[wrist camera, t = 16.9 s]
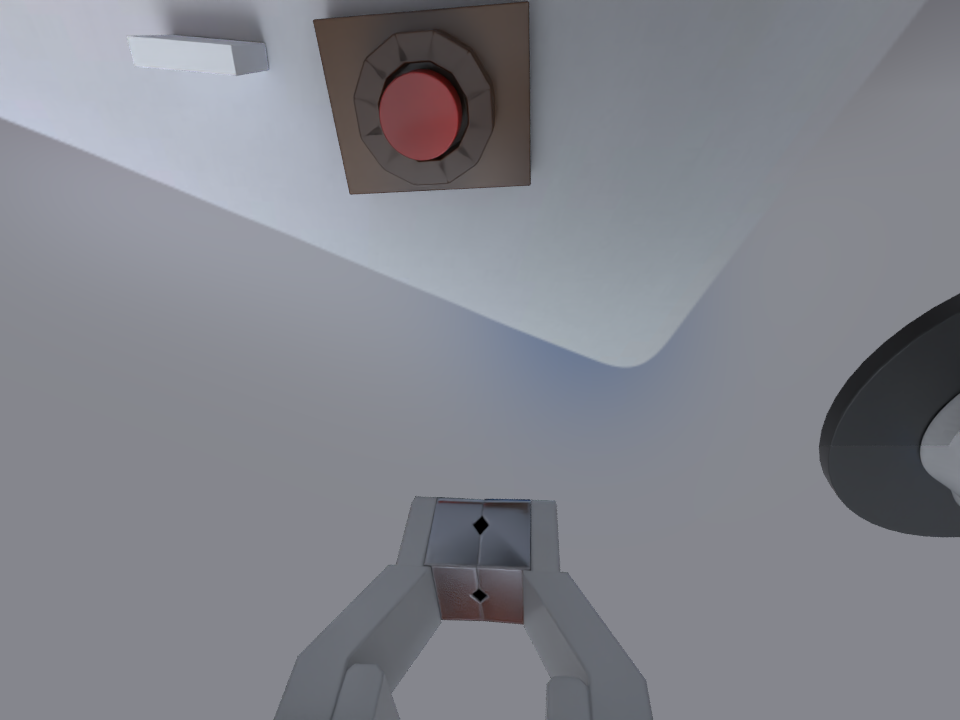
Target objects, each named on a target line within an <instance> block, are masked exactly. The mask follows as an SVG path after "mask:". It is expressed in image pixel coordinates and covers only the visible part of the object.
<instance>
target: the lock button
mask: <svg viewBox="0 0 960 720" xmlns="http://www.w3.org/2000/svg"><path fill="white" fill-rule="evenodd" d="M379 118H380V124H381V128H382V131H383V133H384V135H385V137H386V139H387V140H388V142H389V143H390V144H391V146H392V147H393V148H394V149H395V150H396V151H398V152H399V153H400V154H402V155H404V156H405V157H408V158H410V159H414V160H430V159H434V158H436V157H438V156H440V155H442V154H443V153H444V152H446V151H447V150H448V148H449V147H450V146H451V145H452V143H453V142H454V140H455V138H456V136H457V134H458V132H459V130H460V127H461V123H462V105H461V101H460V98H459V95H458V93H457V91H456V89H455V88H454V86H453V85H452V84H451V82H450V81H449V80H448V79H446V78H445V77H444V76H443V75H441V74H439V73H437V72H435V71H432V70H428V69H416V70H412V71H409V72H407V73H404V74H402V75H400V76H398V77H397V78H395V79H394V80H393V81H392V82H391V83H390V84H389V85H388V86H387V87H386V89H385V91H384V93H383V95H382V98H381V101H380V107H379Z"/></svg>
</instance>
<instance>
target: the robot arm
mask: <svg viewBox="0 0 960 720" xmlns="http://www.w3.org/2000/svg"><path fill="white" fill-rule="evenodd" d="M920 458H921V462H922V465H923V467H924V468H925V470H926V471H927V472H928V473H929V474H930V475H931V476H932V477H933V478H935V479H936V480H937V481H939V482H940V483H942V484H943V485H945V486H946V487H947V488H949V489H950V490H951V492H952V495H953V498H954V500H955V502H956V503H957V504H958V505H959V506H960V394H958V395H957V396H956V397H955V398H954V399H952V400H951V401H950V402H949V403H948V404H947V405H946V406H945V407H944V408H943V409H942V410H941V411H940V412H939V413H938V414H937V415H936V417H935V418H934V419H933V420H932V422H931V423H930V425H929V426H928V428H927V430H926V432H925V434H924V436H923V439H922V442H921V446H920ZM441 620H465V621H482V620H483V621H489V622H501V623H514V624H524V628H525V630H526V631H527V633H528V635H529V637H530V639H531V641H532V643H533V645H534V647H535V649H536V651H537V652H538V655H539V656H540V658H541V660H542V662H543V664H544V666H545V668H546V670H547V672H548V674H549V676H550V678H551V680H550V681H549V682H548V683H547V690H546V691H547V693H546V719H545V720H653V716H652V711H651V706H650V700H649V694H648V688H647V683H646V680H645V678H644V677H643V675H642V674H641V673H640V671H639V670H638V669H637V667H636V666H635V664H634V663H633V662H632V660H631V659H630V658H629V656H628V655H627V653H626V652H625V651H624V649H623V648H622V646H621V645H620V644H619V642H618V641H617V640H616V638H615V637H614V636H613V634H612V633H611V631H610V630H609V629H608V627H607V626H606V624H605V623H604V622H603V620H602V619H601V618H600V616H599V615H598V613H597V612H596V611H595V609H594V608H593V607H592V605H591V604H590V602H589V601H588V600H587V598H586V597H585V596H584V594H583V593H582V592H581V590H580V589H579V588H578V586H577V585H576V583H575V582H574V580H573V579H572V578H571V576H570V575H569V574H568V573H567V572H560V558H559V540H558V523H557V505H556V502H555V501H549V500H532V501H531V500H530V499H527V500H525V499H484V500H481V499H463V498H443V497H419V496H418V497H416V496H415V498H414V500H413V502H412V504H411V508H410V512H409V515H408V519H407V523H406V527H405V531H404V535H403V539H402V543H401V546H400V550H399V555H398V558H397V562H396V565H388V566H387V567H386V568H385V569H384V570H383V571H382V572H381V573H380V574H379V575H378V576H377V577H376V578H375V579H374V580H373V581H372V582H371V583H370V584H369V585H368V586H367V587H366V588H365V589H364V590H363V591H362V592H361V593H360V594H359V595H358V596H357V597H356V598H355V599H354V600H353V601H352V602H351V603H350V604H349V605H348V606H347V607H346V608H345V609H344V610H343V612H341V613H340V614H339V615H338V616H337V617H336V618H335V619H334V620H333V621H332V622H331V624H329V625H328V626H327V627H326V628H325V630H324V631H322V633H320V634H319V635H318V636H317V638H316V639H315V640H314V641H313V642H312V643H311V644H310V645H309V646H308V647H307V648H306V649H305V650H304V651H303V652H302V653H301V654H300V655H299V656H298V657H297V660H296V662H295V665H294V667H293V670H292V673H291V675H290V678H289V680H288V683H287V686H286V688H285V691H284V694H283V696H282V699H281V701H280V704H279V707H278V710H277V712H276V715H275V717H274V720H400V718H399V715H398V712H397V709H396V706H395V703H394V700H393V697H392V695H391V694H392V692H393V690H394V689H395V687H396V686H397V685H398V684H399V682H400V681H401V679H402V678H403V676H404V675H405V674H406V672H407V671H408V669H409V668H410V667H411V665H412V664H413V662H414V661H415V659H416V658H417V657H418V655H419V654H420V652H421V651H422V649H423V648H424V647H425V645H426V644H427V642H428V641H429V639H430V638H431V637H432V635H433V634H434V632H435V631H436V630H437V628H438V627H439V625H440V624H441Z"/></svg>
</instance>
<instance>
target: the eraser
mask: <svg viewBox="0 0 960 720" xmlns="http://www.w3.org/2000/svg"><path fill="white" fill-rule="evenodd" d="M126 37H127V41H128V44H129V48H130V52H131V55H132V59H133V62H134V66H135V67H144V68H155V69H167V70H178V71H189V72H200V73H211V74H222V75H233V76H238V75H244V74H249V73H255V72H261V71H267V70H269V67H268V60H267V53H266V46H265V43H259V42H247V41H236V40H225V39H213V38H202V37H191V36H180V35H145V36H126Z"/></svg>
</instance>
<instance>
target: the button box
mask: <svg viewBox="0 0 960 720" xmlns="http://www.w3.org/2000/svg"><path fill="white" fill-rule="evenodd" d="M313 23H314V27H315V32H316V37H317V42H318V46H319V51H320V56H321V60H322V65H323V70H324V75H325V79H326V84H327V89H328V94H329V98H330V103H331V108H332V112H333V117H334V122H335V127H336V131H337V136H338V141H339V146H340V150H341V155H342V160H343V164H344V169H345V174H346V179H347V183H348V188H349V193H350V194H370V193H390V192H410V191H429V190H449V189H469V188H489V187H509V186H529V185H530V184H531V169H530V51H529V2H528V1H526V2H514V3H502V4H490V5H479V6H467V7H455V8H443V9H432V10H420V11H408V12H396V13H384V14H373V15H361V16H349V17H337V18H326V19H314V20H313ZM416 69H428V70H432V71H435V72H437V73H439V74H441V75H443V76H444V77H445V78H446V79H448V80H449V81H450V82H451V84H452V85H453V86H454V88H455V89H456V91H457V93H458V95H459V98H460V101H461V105H462V123H461V127H460V130H459V132H458V134H457V136H456V138H455V140H454V142H453V143H452V145H451V146H450V147H449V148H448V150H447V151H446V152H444V153H443V154H442V155H440V156H438V157H436V158H434V159H430V160H414V159H410V158H408V157H405V156H404V155H402V154H400V153H399V152H398V151H396V150H395V149H394V148H393V147H392V146H391V144H390V143H389V142H388V140H387V139H386V137H385V135H384V133H383V131H382V128H381V124H380V118H379V107H380V101H381V98H382V95H383V93H384V91H385V89H386V87H387V86H388V85H389V84H390V83H391V82H392V81H393V80H394V79H395V78H397V77H398V76H400V75H402V74H404V73H407V72H409V71H412V70H416Z"/></svg>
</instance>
